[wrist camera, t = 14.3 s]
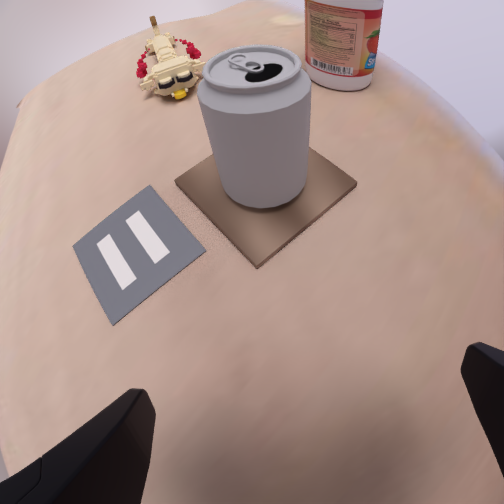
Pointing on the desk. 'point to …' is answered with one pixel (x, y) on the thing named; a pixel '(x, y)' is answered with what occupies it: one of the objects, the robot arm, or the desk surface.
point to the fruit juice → (342, 42)
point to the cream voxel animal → (169, 66)
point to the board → (265, 219)
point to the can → (258, 122)
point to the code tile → (135, 252)
